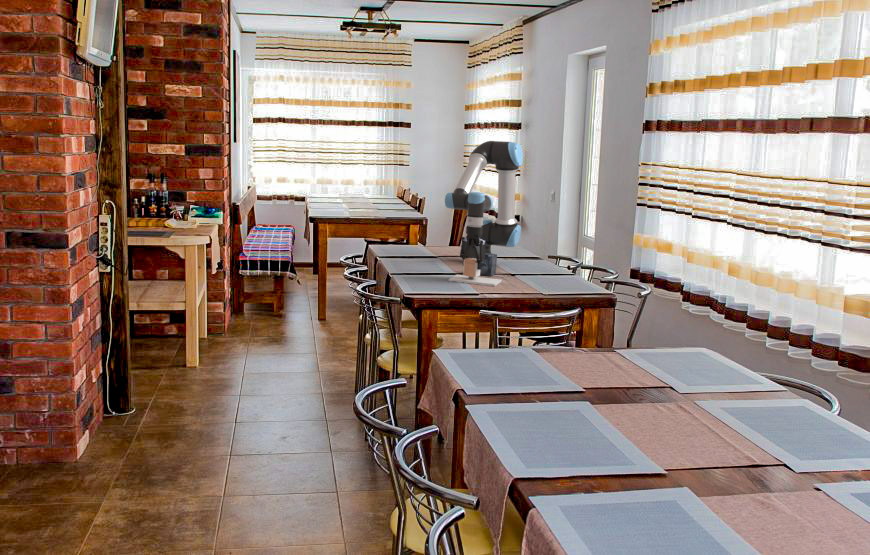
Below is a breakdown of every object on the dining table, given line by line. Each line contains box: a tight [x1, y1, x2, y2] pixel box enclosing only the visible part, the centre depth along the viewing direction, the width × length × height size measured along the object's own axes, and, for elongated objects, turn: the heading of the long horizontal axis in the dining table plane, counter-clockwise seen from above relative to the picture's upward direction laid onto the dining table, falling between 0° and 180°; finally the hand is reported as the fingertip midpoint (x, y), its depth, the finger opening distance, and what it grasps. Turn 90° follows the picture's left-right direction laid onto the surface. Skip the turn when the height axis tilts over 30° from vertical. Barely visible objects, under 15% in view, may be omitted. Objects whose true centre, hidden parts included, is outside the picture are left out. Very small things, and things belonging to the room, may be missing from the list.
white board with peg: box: [448, 274, 503, 287], centre depth 393 cm, size 13×22×6 cm, turn 72°
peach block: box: [463, 258, 480, 277], centre depth 393 cm, size 7×7×8 cm
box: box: [480, 252, 498, 277], centre depth 411 cm, size 8×6×11 cm
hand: (471, 274), depth 394 cm, fingers closed on peach block, 7 cm apart
